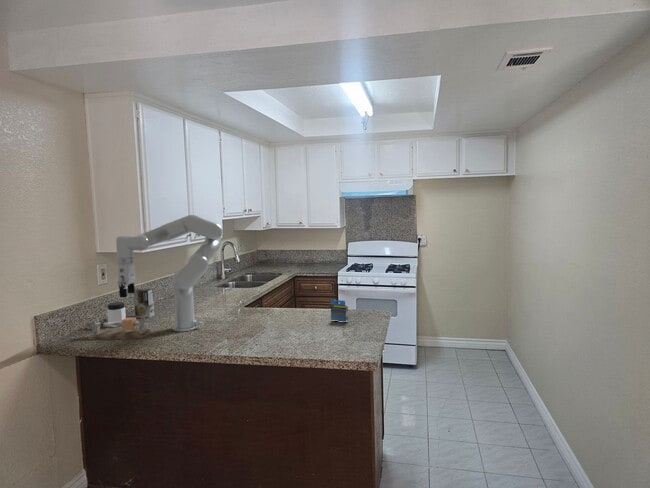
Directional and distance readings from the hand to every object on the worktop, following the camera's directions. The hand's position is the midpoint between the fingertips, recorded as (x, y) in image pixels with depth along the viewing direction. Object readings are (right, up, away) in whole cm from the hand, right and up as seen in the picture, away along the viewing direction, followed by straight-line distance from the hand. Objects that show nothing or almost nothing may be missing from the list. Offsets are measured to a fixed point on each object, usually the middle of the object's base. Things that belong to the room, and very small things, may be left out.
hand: (127, 295), depth 210 cm
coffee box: (-8, -18, +39) cm, 44 cm away
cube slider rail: (-4, -21, +1) cm, 21 cm away
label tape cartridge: (+107, -17, +19) cm, 110 cm away
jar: (-16, -19, +22) cm, 33 cm away
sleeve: (+1, -17, +1) cm, 17 cm away
